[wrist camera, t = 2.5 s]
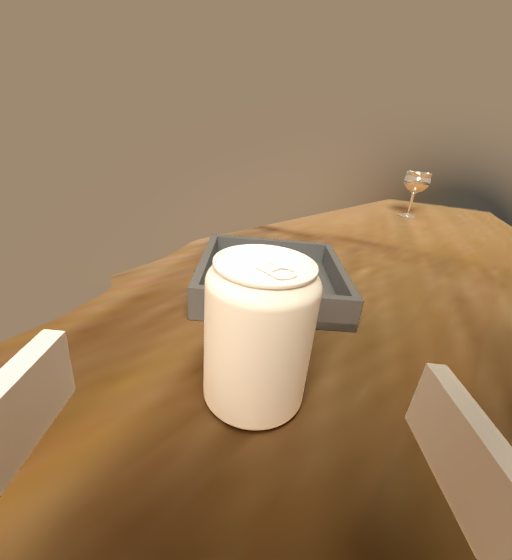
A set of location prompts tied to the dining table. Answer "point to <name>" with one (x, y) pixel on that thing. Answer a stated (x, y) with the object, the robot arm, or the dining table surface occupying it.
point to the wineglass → (415, 186)
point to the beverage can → (258, 333)
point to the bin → (335, 280)
